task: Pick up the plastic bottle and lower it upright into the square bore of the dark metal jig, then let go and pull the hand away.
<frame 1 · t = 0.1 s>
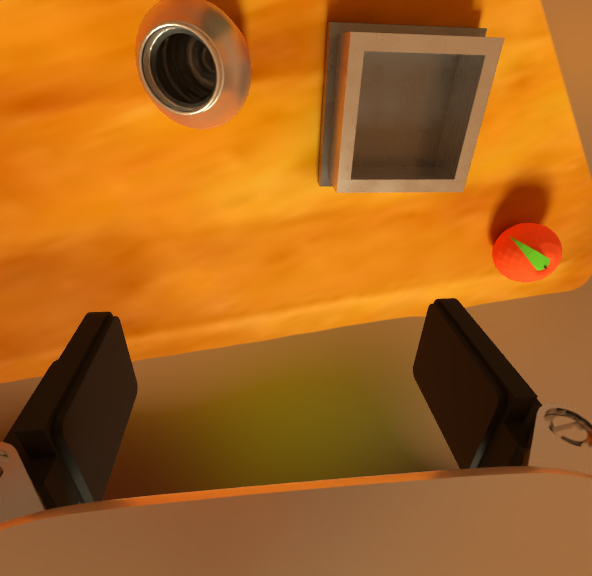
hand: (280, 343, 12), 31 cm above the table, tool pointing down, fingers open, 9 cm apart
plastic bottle: (214, 59, 34), on the table
clementine: (505, 237, 47), on the table
jig: (391, 111, 38), on the table
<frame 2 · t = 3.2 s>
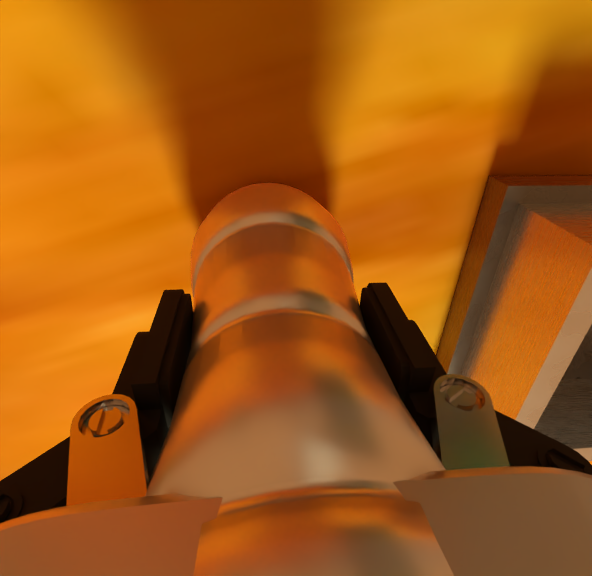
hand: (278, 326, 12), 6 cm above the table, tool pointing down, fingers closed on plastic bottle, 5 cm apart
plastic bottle: (269, 239, 18), on the table, touching gripper
jig: (568, 298, 22), on the table
when the fingers open (8 cm above the table, at t = 10.2 s): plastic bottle stays where it is, resting on jig.
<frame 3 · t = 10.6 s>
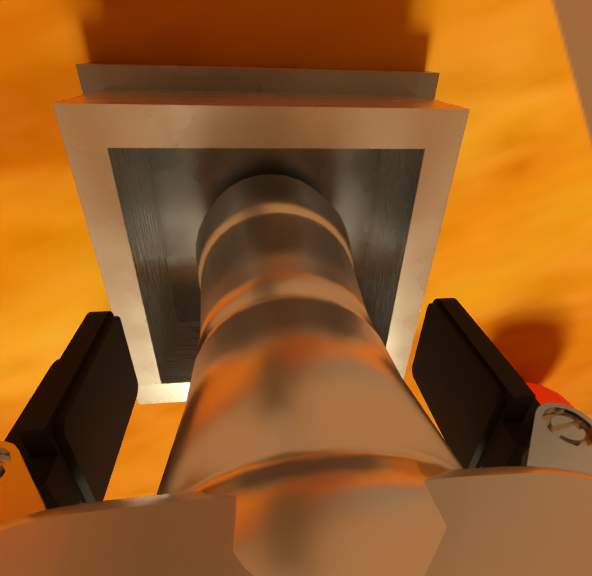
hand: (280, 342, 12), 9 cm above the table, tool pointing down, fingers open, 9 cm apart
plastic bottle: (270, 229, 18), point 1 cm above the table, touching jig
clementine: (492, 390, 29), on the table
jig: (267, 223, 20), on the table
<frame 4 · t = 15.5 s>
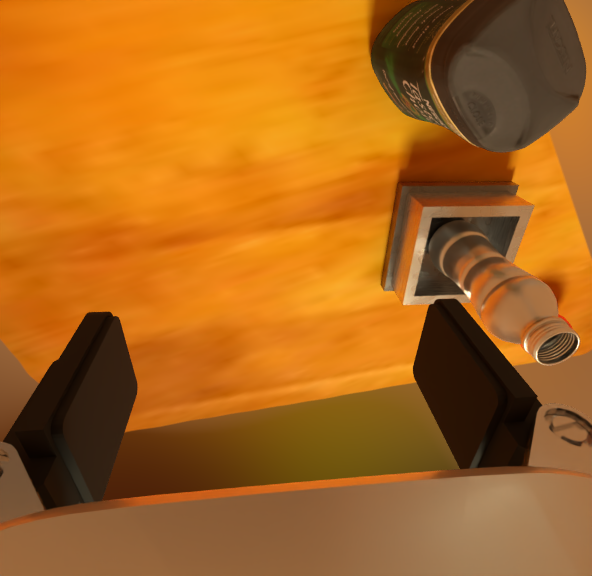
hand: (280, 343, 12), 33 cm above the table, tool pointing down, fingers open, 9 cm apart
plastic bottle: (447, 239, 47), point 1 cm above the table, touching jig
coffee jar: (414, 64, 38), on the table
jig: (442, 236, 48), on the table
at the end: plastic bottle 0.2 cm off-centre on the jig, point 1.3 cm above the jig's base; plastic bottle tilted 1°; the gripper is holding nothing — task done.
